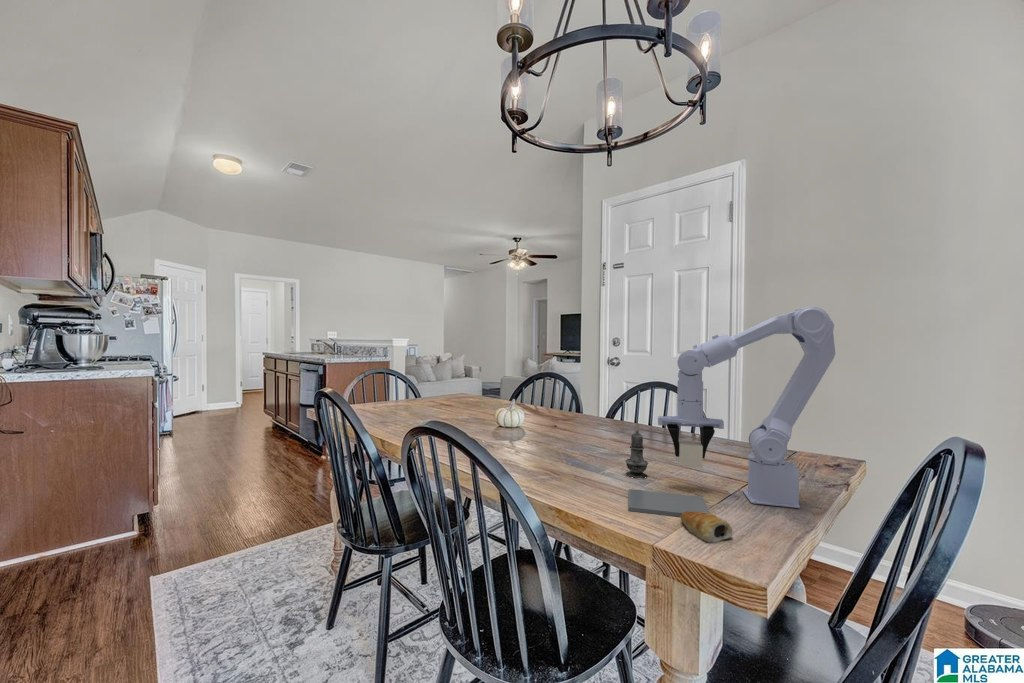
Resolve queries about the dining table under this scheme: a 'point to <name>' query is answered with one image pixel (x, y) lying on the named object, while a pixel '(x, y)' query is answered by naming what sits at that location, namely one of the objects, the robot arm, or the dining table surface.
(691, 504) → the board
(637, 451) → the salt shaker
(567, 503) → the dining table surface
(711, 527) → the pastry
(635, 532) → the dining table surface
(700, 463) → the block
